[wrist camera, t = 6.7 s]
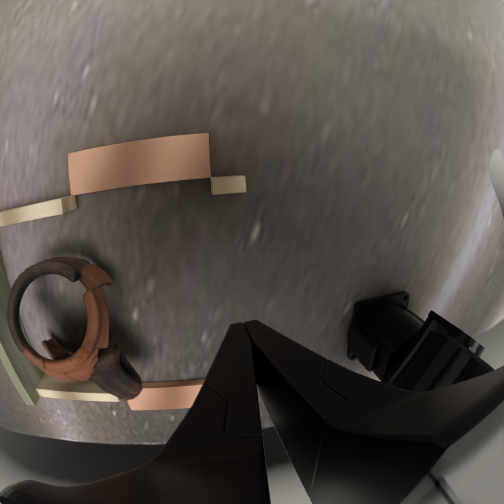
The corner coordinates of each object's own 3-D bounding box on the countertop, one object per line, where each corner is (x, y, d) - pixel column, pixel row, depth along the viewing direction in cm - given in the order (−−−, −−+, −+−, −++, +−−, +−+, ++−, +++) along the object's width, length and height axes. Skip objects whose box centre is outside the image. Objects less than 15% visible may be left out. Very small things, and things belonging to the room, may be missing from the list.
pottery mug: (28, 326, 19) (-20, 324, 12) (81, 248, 23) (47, 217, 15) (125, 411, 20) (106, 447, 12) (181, 331, 23) (184, 335, 16)
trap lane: (237, 132, 18) (247, 124, 14) (252, 394, 25) (261, 423, 21) (-19, 181, 14) (-47, 186, 11) (51, 399, 21) (40, 424, 17)
